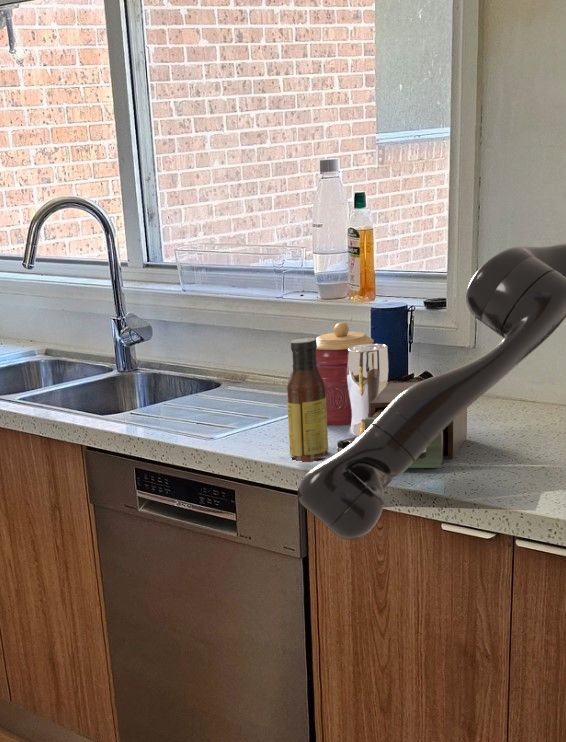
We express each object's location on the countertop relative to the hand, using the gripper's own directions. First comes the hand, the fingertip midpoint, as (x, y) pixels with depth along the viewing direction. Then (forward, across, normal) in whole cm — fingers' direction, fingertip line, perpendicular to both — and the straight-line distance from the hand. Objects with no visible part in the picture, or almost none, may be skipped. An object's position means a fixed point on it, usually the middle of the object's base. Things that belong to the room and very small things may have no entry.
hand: (393, 434), depth 179 cm
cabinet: (+21, 0, +8) cm, 23 cm away
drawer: (+13, 0, +7) cm, 15 cm away
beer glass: (+32, +11, +8) cm, 35 cm away
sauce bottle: (+15, +17, +8) cm, 24 cm away
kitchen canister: (+43, +18, +8) cm, 48 cm away
